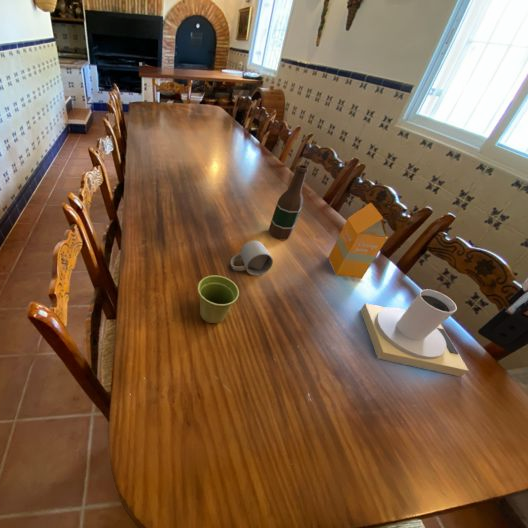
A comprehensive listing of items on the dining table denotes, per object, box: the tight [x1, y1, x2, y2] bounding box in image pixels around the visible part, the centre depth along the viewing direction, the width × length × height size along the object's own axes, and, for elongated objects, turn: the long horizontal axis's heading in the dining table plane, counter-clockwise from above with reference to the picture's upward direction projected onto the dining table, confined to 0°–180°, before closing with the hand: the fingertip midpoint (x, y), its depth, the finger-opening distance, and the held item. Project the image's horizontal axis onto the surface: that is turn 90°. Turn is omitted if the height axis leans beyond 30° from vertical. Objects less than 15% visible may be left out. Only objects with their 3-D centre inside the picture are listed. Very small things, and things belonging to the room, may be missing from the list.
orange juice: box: [328, 202, 388, 280], centre depth 84 cm, size 8×9×20 cm
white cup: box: [397, 288, 458, 341], centre depth 65 cm, size 7×7×10 cm
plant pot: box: [197, 274, 240, 324], centre depth 70 cm, size 9×9×9 cm
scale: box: [360, 302, 470, 378], centre depth 69 cm, size 17×15×4 cm
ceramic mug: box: [229, 240, 274, 276], centre depth 85 cm, size 11×8×8 cm
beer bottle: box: [268, 164, 309, 241], centre depth 95 cm, size 8×8×24 cm
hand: (509, 324), depth 35 cm, fingers open, 9 cm apart
